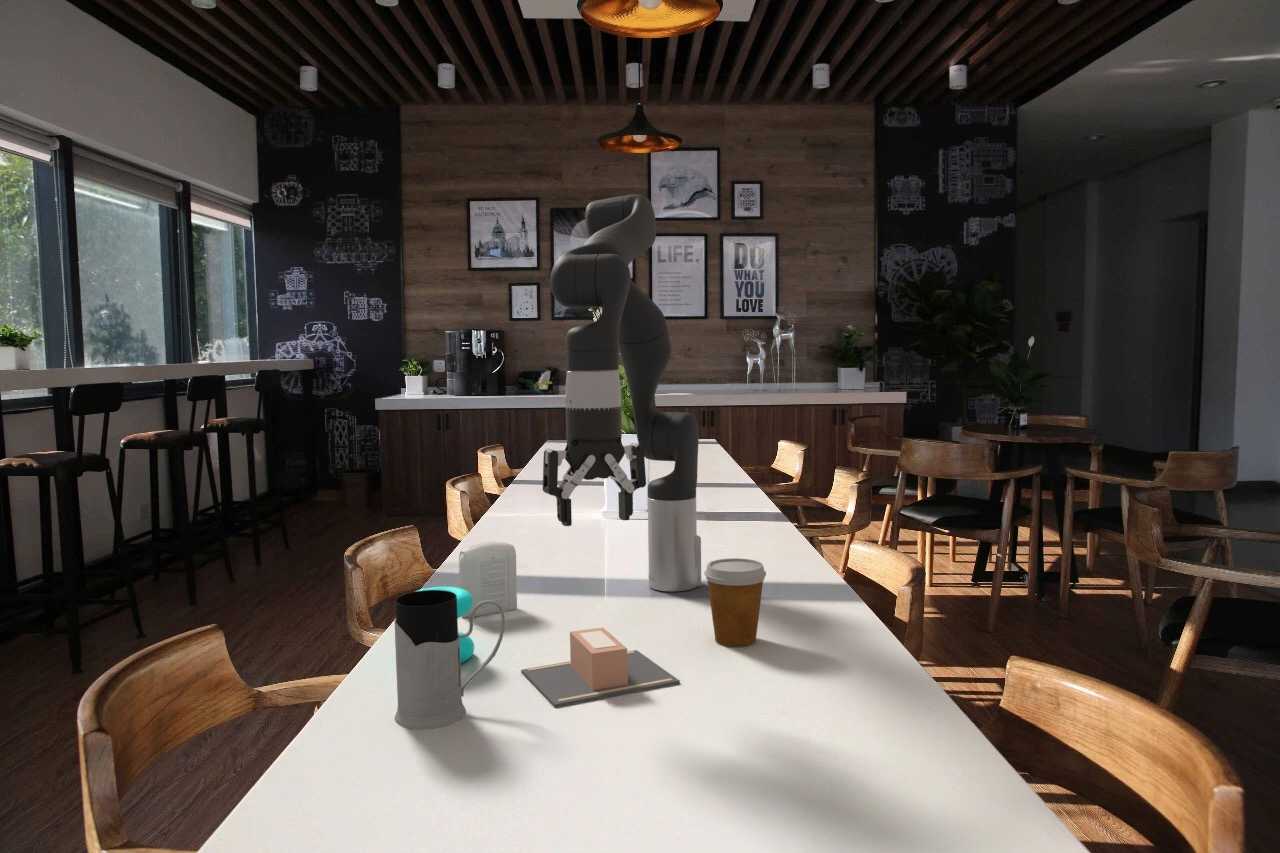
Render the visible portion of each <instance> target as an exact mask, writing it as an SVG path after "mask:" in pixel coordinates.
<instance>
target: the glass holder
mask: <svg viewBox="0 0 1280 853" xmlns="http://www.w3.org/2000/svg"><path fill="white" fill-rule="evenodd" d="M394 602H395V603H394V607H395V618H394V620H393V621H394V641H395V642H394V644H395V664H396V665H395V669H396V689H397V690H396V693H397V696H396V697H397V708H396V713H395V715H394V722H395V723H396V724H397V725H398V726H401V727H402V728H403V727H404V728H406V729H412V730H413V729H415V730H429V729H436V728H438V729H439V728H442V727H447V726H449V725H452V724H454V723H456V722H458V721H460V720H461V719H462V718H463V717H464V716H465V715H466V714H467V713H466V712H467V710H466V707H465V705H464V703H463V697H464V696H465V693H464V692H465V689H466V688H467V686H469V684H470V683H471V681H473V680H474V679H475V678H476V677H477V675H479V674H480V673H481V672H482V671H483V670H484V669H485V668H486V666H488V664H489V663H490V662H491V661H492V660H493V659H494V657H495V656H496V654H497V653H498V651H499V648H500V646H501V643H502V641H503V638H504V633H505V628H506V627H505V626H506V625H505V623H506V621H505V620H506V617H505V611H504V610H503V609H502V607H501V605H500V604H498V603H497V602H495V601H491V600H484V601H481V602H479V603H478V604H477V605H476V606H475V607H474V608H473V610H472V612H471V615H470V617H469V629H468V631H467V632H465V633H464V634H460V635H459V634H458V631H459V626H458V625H459V624H458V623H459V622H458V620H459V618H457V595H456V594H455V593H453V592H450V591H443V590H424V591H418V590H416V592H415V591H412V592H408V593H404V594H401V595H399V596H397V597H396V598H395V600H394ZM486 603H491V604H495V605H496V606H498V607H499V609H500V611H501V612H500V615H501V620H500V621H501V622H500V631H499V636H498V639H497V642H496V644H495V646H494V647H493V650H492V652H491V653H490V654H489V656H488V657H487V658H486V659H485V661H484V662H483V663H482V664H481V665H480V666H479V667H478V668H477V669H476V670H475V671H474V672H473V673H472V674H471V675H469V677H468V678H467V679H466V680H465V681H464V683H463V684H462V674H461V673H462V670H461V668H462V667H461V663H460V638H464V637H467V636H469V637H470V635H471V634H472V632H473V630H474V617H475V616H474V615H475V612H476V610H477V609H478V608H479V607H480V606H481V605H483V604H486Z"/></svg>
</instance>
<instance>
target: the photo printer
mask: <svg viewBox="0 0 1280 853" xmlns="http://www.w3.org/2000/svg"><path fill="white" fill-rule="evenodd" d="M516 552H517V551H516V549H515V546H514V544H512V543H509V542H505V541H497V540H495V541H483V542H478V543H475V544H472V545H470V546H468V547H466V548H463V549H461V550H460V552H459V555H458V556H459V557H458V575H459V576H458V577H459V579H458V580H459V581H458V582H459V584H458V586H459V587H458V588H462V589H464V590H466V591H468V592H469V593H470V594H471V596H472V598H473V604H472V607H471V609H470V610H469V611H468V612H467V613H466V614H465V615H463V616H462V617H463V618H465V619H467V618H468V619H470V615H471V612H472V610H473V608H474V607H475V606H476V605H477V604H478V603H479V602H481V601H484V600H491V601H495V602H497V603H498V604H500V605H501V607H502V609H503V610H504V612H507V611H514V610H516V609H517V606H518V596H517V595H518V594H517V592H518V590H517V587H518V586H517V553H516ZM513 609H514V610H513ZM496 613H501V611H500V609H499V607H498V606H496V605H495V604H491V603H486V604H483V605H481V606H480V607H479V608H478V609H477V610H476V612H475V615H474V617H480V616H484V615H490V614H496Z"/></svg>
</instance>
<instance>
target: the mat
mask: <svg viewBox="0 0 1280 853" xmlns="http://www.w3.org/2000/svg"><path fill="white" fill-rule="evenodd" d="M627 662H628V685H623V686H616V687H610V688H604V689H597V690H592V689H591V688H590V687H589V686H588V685H587V684H586V682H585V681H584V680H583V679H582V678H581V677H580V676H579V675H578V674H577V672H576V671H575V670H574V669H573V668H572V667H571V660H569V661H565V662H560V663H559V662H558V663H553V664H547V665H541V666H540V665H539V666H535V667H529V668H524V669H521V670H520V672H521V674H522V675H523V676H524V677H525V678H526V679H527V681H529V682H530V684H531V685H533V686H534V687H535V689H536V690H537V691H538V692H539V693H540V694H541V695H542V696H543V697H544V698H545V699H546V700H547V701H548V703H550V704H551V705H552V706H553V708H558V707H564V706H568V705H569V706H571V705H575V704H579V703H585V702H590V701H595V700H600V699H601V700H602V699H605V698H611V697H614V696H621V695H626V694H632V693H638V692H641V691H648V690H653V689H658V687H659V688H664V687H667V686H674V685H678V684H680V682H681V680H680V679H678V678H677V677H675V676H674V675H672V674H671V673H670V672H668V671H667V670H665V669H664V668H663V667H661V666H660V665H658V664H657V663H655V662H654V661H653V660H652V659H650V658H649V657H647V656H646V655H645V654H643V653H642V652H640V651H639V650H637V649H635V650H627ZM637 691H638V692H637Z"/></svg>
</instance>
